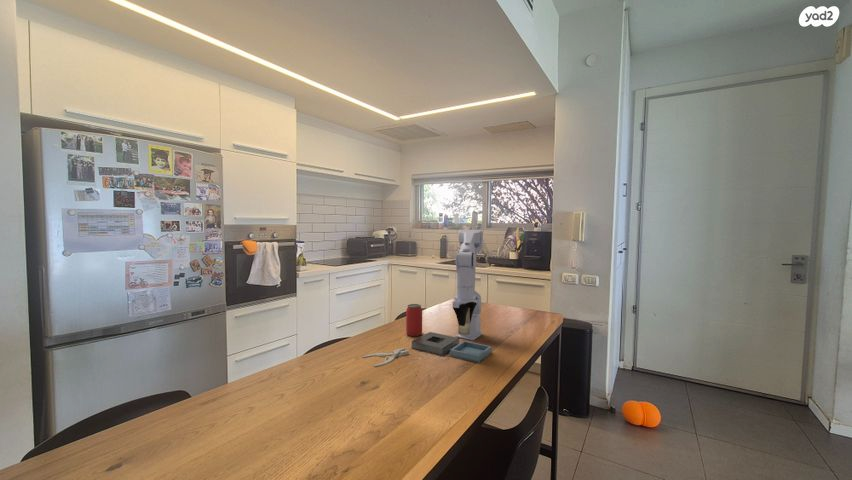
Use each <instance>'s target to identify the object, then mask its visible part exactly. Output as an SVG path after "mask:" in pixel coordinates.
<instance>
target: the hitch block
mask: <svg viewBox="0 0 852 480" xmlns="http://www.w3.org/2000/svg"><path fill="white" fill-rule="evenodd" d="M458 344H460V338H459V337H456V336H452V335H447V334H443V333H437V332H432V331H429V332H427V333H425V334H423V335H420V336H418V338H417V337H416V339H414V340H411V349H414V350H418V351H422V352H426V353H430V354H435V355H438V356H443V355H445V354H447V353H448V352H450V349H452V348H453V347H455V346H457V345H458Z"/></svg>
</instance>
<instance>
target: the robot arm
mask: <svg viewBox="0 0 852 480" xmlns="http://www.w3.org/2000/svg"><path fill="white" fill-rule="evenodd" d="M483 241H484V231H483V230H482V228H480V229H462V228H460V229H459V231H458V244H459V250H458V253H456V254H455V268H456V269H455V270H456V271H455V272H456V296H454V297H453V301H452V309H453V312H454V313H455V316H456V320H457V323H458V324H459V325H460V326H465V322H466V315H467V311H468V309H469V308H470V334H469V335H460V334H457V333H456V335H455V337H457V338H459V339H460V338H461V339H465V340H469V341H475V340H476V339H478V338H479V337H481V336H482V335H483V334H484V333H483V332H482V331H481V326H482V323H481V322H482V321H481V320H482V319H481V316H480V315H481V314H482V296H481V294H480V293H479V292H477V291H476V266H477V265H476V263H477V256H478V253H479V252H482V249H483ZM458 324H457V325H458Z"/></svg>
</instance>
